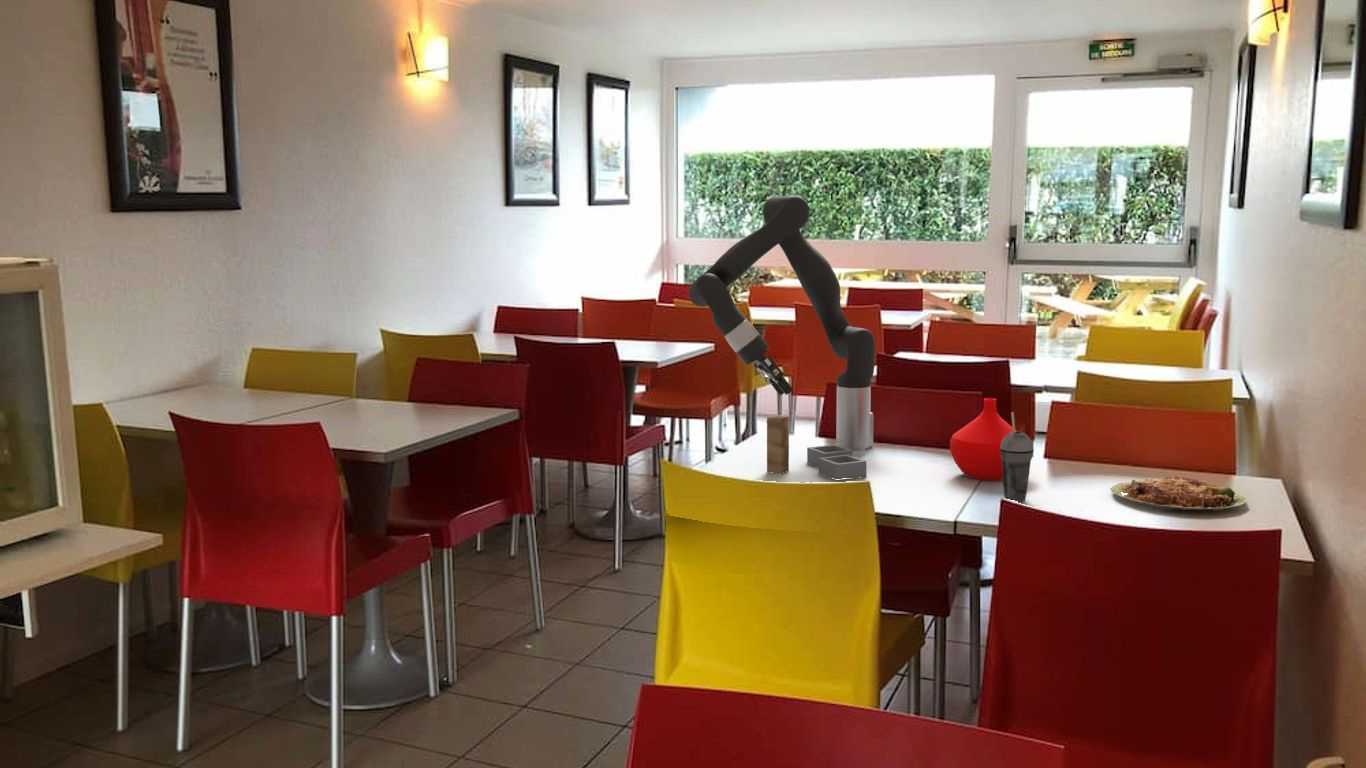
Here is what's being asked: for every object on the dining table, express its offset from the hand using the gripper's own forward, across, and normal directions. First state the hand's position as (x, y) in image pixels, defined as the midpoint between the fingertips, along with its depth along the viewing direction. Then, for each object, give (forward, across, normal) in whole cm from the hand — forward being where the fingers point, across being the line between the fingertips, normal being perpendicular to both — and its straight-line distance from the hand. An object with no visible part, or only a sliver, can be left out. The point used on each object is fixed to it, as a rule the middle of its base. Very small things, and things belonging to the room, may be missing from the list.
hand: (786, 392), depth 275 cm
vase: (+46, -9, -25) cm, 53 cm away
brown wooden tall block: (+14, +3, +14) cm, 20 cm away
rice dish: (+70, -36, -48) cm, 92 cm away
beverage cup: (+48, -32, -20) cm, 61 cm away
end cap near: (+24, -3, +2) cm, 25 cm away
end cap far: (+22, +9, +1) cm, 24 cm away
